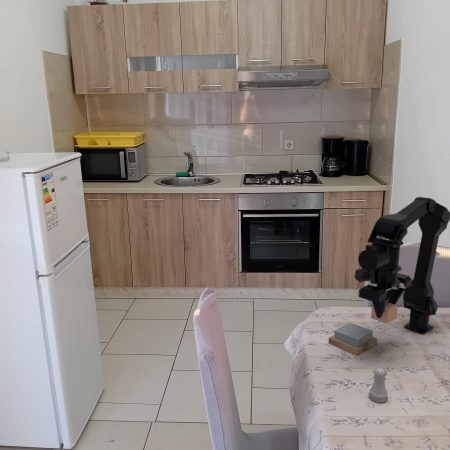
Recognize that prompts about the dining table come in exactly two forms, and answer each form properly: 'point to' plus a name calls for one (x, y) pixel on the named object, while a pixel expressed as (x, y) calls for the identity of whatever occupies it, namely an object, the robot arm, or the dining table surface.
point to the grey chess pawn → (379, 385)
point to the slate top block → (353, 334)
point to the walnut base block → (351, 348)
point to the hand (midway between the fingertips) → (383, 314)
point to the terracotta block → (386, 313)
